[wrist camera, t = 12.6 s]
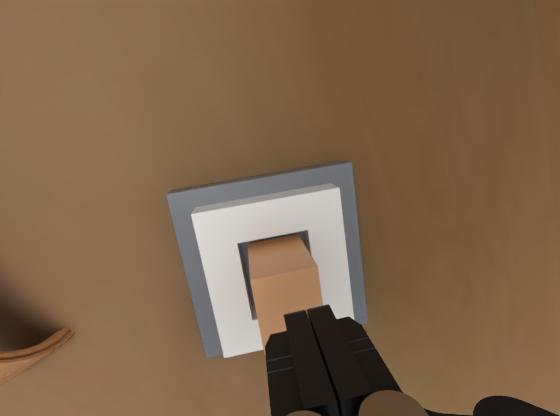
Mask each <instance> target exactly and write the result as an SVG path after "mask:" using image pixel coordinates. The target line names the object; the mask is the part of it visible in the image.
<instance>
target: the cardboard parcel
mask: <svg viewBox="0 0 560 416" xmlns="http://www.w3.org/2000/svg"><path fill="white" fill-rule="evenodd" d="M248 258H249V272H250V282H251V287H252V293H253V298H254V303H255V308H256V313H257V318H258V323H259V328H260V333H261V339H262V344H263V349H264V354H265V346H266V343H267V341H268V339H269V336H270V334H274V333H279V332H283V331H287V330H286V325H285V320H284V315H283V314H287V313H292V312H296V311H301V310H306V313H307V309H309V308H314V307H318V306H323V301H322V294H321V286H320V279H319V272H318V266H317V264H316V263H315V261H314V259H313V258H312V256H311V255H310V253H309V251H308V250H307V248H306V246H305V245H304V243H303V241H302V240H301V238H300V236H299V235H298V234H296V235H291V236H285V237H280V238H275V239H270V240H264V241H259V242H254V243H249V244H248ZM265 355H266V354H265Z"/></svg>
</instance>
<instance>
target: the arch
mask: <svg viewBox="0 0 560 416" xmlns="http://www.w3.org/2000/svg"><path fill="white" fill-rule="evenodd" d="M69 330H70V329H69V328H68V327H64V328H63V329H62V330H59V331H57V332H56V333H54V334H53V335H51V336H50V337H49V338H47V339H46V340H44V341H43V342H41V343H40V344H38V345H35V346H32V347H29V348H26V349H20V350H14V351H8V352H0V386H1V385H3V384H5V383H6V382H8V381H9V380H11V379H12V378H14V377H15V376H17V375H18V374H20V373H21V372H23V371H24V370H26V369H27V368H29V367H30V366H31V365H33V364H34V363H36V362H37V361H39V360H40V359H42V358H43V357H45V356H46V355H48V354H49V353H50V352H52V351H53V350H55V349H56V348H58V347H59V346H61V345H62V344H64V343H65V342H66V341H67V340H68V339H69V338H70V337H71V336H72V335H73V334H74V332H73V331H71V332H69Z"/></svg>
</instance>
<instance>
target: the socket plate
mask: <svg viewBox="0 0 560 416" xmlns="http://www.w3.org/2000/svg"><path fill="white" fill-rule="evenodd" d="M166 197H167V201H168V205H169V209H170V213H171V217H172V221H173V225H174V229H175V233H176V237H177V241H178V245H179V249H180V253H181V257H182V261H183V265H184V269H185V273H186V277H187V281H188V285H189V289H190V293H191V297H192V301H193V306H194V310H195V314H196V318H197V322H198V326H199V330H200V334H201V338H202V342H203V346H204V350H205V354H206V358H210V357H215V356H219V355H224V358H227V357H231V356H236V355H240V354H245V353H250V352H254V351H259V350H263V344H262V339H261V333H260V328H259V323H258V318H257V313H256V308H255V303H254V298H253V293H252V287H251V282H250V272H249V258H248V244H249V243H254V242H259V241H264V240H270V239H275V238H280V237H285V236H291V235H296V234H298V235H299V236H300V238H301V240H302V241H303V243H304V245H305V246H306V248H307V250H308V251H309V253H310V255H311V256H312V258H313V259H314V261H315V263H316V264H317V266H318V272H319V279H320V286H321V294H322V301H323V305H327V304H329V305H330V307H331V309H332V311H333V313H334V315H335V317H336V319H340V318H344V317H348V316H349V317H351V318H352V319H354V320H355V321H356V322H358V323H359V324H365V323H368V316H367V306H366V296H365V286H364V276H363V267H362V257H361V247H360V237H359V227H358V217H357V207H356V197H355V187H354V177H353V167H352V162H349V161H339V162H333V163H328V164H322V165H316V166H310V167H304V168H298V169H293V170H287V171H281V172H275V173H269V174H264V175H258V176H252V177H246V178H240V179H235V180H229V181H223V182H217V183H211V184H205V185H200V186H194V187H188V188H182V189H176V190H171V191H170V192H168V193H167V194H166Z"/></svg>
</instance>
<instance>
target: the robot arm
mask: <svg viewBox="0 0 560 416" xmlns="http://www.w3.org/2000/svg"><path fill="white" fill-rule="evenodd" d="M283 315H284V320H285V325H286V330H287V331H283V332H279V333H274V334H270V336H269V339H268V341H267V343H266V346H265V354H266V365H267V374H268V386H269V397H270V407H271V416H471V415H456V414H443V413H437V412H433V411H430V410H427V409H424V408H423V407H422V406H421V405H420V404H419V403H418V402H417V401H416V400H415V399H413V398H412V397H410V396H408V395H406V394H404V393H403V392H402V391H401V389H400V388H399V386H398V384H397V383H396V381H395V379H394V378H393V376H392V374H391V373H390V371H389V369H388V368H387V366H386V365H385V363H384V361H383V360H382V358H381V356H380V355H379V353H378V351H377V350H376V349H375V346H374V345H373V343H372V342H371V340H370V339H369V337H368V335H367V333H366V332H365V330H364V328H363V327H362V325H361V324H359V323H358V322H356V321H355V320H354V319H352V318H351V317H349V316H348V317H344V318H340V319H336V317H335V315H334V313H333V311H332V309H331V307H330V305H329V304H327V305H323V306H318V307H314V308H309V309H307V313H306V310H301V311H296V312H292V313H287V314H283ZM473 416H559V415H556V414H554V413H551V412H549V411H547V410H544V409H542V408H539V407H537V406H534V405H532V404H529V403H527V402H524V401H522V400H519V399H516V398H512V397H507V396H490V397H486V398H484V399H482V400H480V401H479V402H478V403H477V404H476V406H475V407H474V411H473Z"/></svg>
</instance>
